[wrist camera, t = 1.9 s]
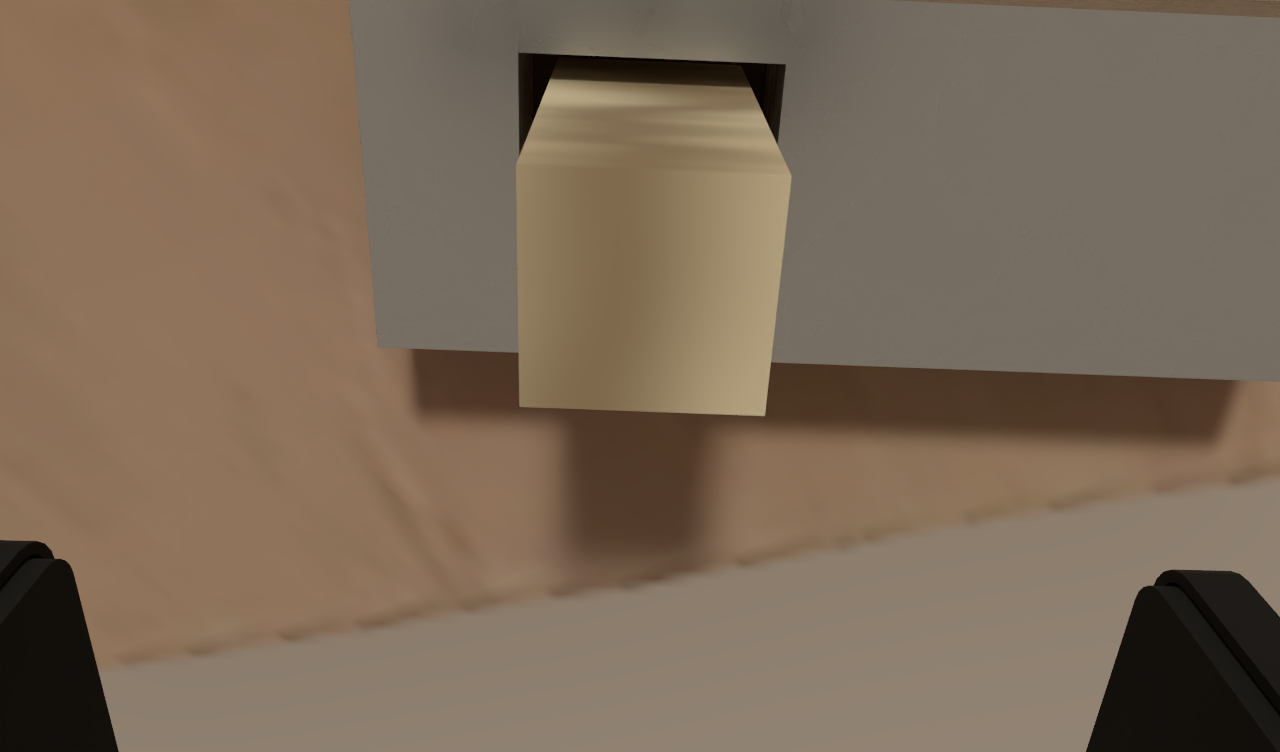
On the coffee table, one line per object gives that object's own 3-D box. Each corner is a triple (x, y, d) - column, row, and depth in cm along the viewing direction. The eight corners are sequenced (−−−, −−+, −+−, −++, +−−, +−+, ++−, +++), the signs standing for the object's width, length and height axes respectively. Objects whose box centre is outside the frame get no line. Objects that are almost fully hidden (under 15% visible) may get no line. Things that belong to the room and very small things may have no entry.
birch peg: (741, 64, 24) (792, 176, 16) (726, 238, 26) (764, 415, 18) (558, 57, 24) (516, 164, 16) (557, 231, 25) (519, 407, 17)
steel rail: (1366, 5, 23) (1461, 26, 20) (1254, 329, 27) (1322, 383, 24) (381, -39, 23) (347, -24, 20) (404, 296, 26) (377, 347, 24)
